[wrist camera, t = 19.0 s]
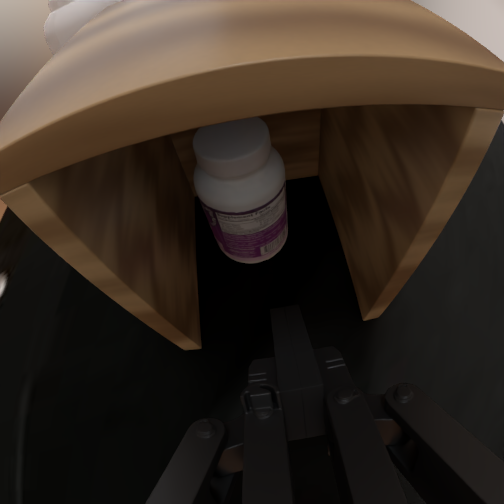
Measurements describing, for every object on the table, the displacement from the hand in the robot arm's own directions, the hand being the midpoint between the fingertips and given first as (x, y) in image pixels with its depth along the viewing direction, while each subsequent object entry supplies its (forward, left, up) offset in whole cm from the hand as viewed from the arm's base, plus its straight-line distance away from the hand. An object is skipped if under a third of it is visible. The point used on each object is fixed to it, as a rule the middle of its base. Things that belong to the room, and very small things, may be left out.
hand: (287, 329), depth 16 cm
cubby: (+6, -4, -3) cm, 8 cm away
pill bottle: (+8, -4, -4) cm, 9 cm away
